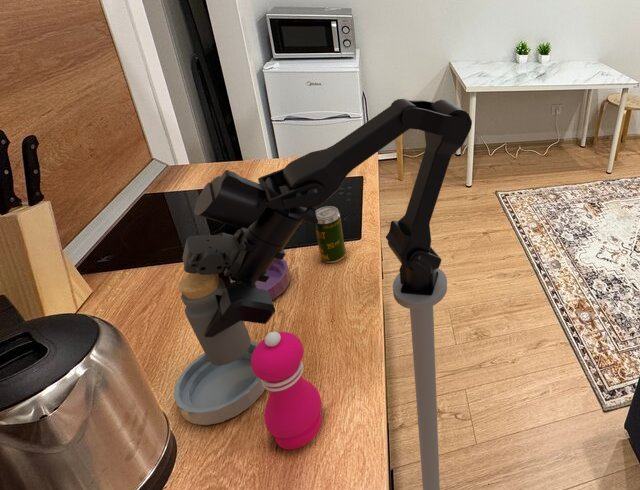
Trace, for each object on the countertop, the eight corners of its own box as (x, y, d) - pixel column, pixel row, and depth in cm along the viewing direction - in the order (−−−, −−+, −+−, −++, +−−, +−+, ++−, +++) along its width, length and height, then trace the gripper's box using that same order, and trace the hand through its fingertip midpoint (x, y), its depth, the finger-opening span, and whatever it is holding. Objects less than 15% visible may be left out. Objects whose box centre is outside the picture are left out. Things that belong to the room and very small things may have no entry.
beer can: (336, 245, 98) (329, 202, 93) (351, 255, 95) (344, 211, 90) (315, 257, 94) (307, 213, 89) (330, 267, 91) (322, 223, 86)
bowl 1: (286, 357, 72) (282, 343, 70) (242, 430, 61) (236, 416, 59) (216, 351, 72) (211, 337, 70) (160, 423, 61) (152, 408, 59)
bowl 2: (301, 269, 91) (298, 256, 89) (269, 313, 80) (265, 299, 78) (246, 264, 91) (242, 252, 89) (207, 308, 80) (202, 294, 78)
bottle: (259, 338, 68) (232, 269, 61) (230, 370, 63) (196, 298, 56) (230, 330, 69) (199, 261, 62) (198, 361, 64) (161, 290, 57)
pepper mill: (266, 422, 62) (232, 329, 53) (316, 394, 66) (293, 303, 57) (278, 465, 57) (244, 370, 48) (332, 432, 61) (310, 339, 52)
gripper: (203, 189, 63) (139, 275, 62) (221, 255, 50) (141, 364, 50) (273, 212, 71) (218, 289, 70) (304, 275, 59) (237, 369, 58)
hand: (205, 322), depth 62 cm, fingers closed on bottle, 6 cm apart
